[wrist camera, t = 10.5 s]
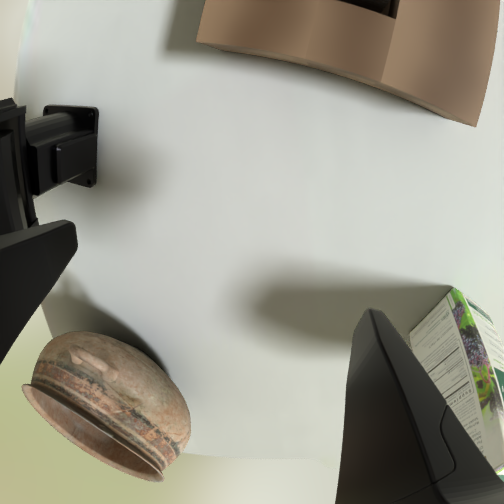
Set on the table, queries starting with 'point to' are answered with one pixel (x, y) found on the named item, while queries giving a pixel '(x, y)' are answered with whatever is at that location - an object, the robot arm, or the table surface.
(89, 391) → the cooking pot
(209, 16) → the post block
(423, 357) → the syrup box
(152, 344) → the table surface
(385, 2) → the upright grey stone slab
